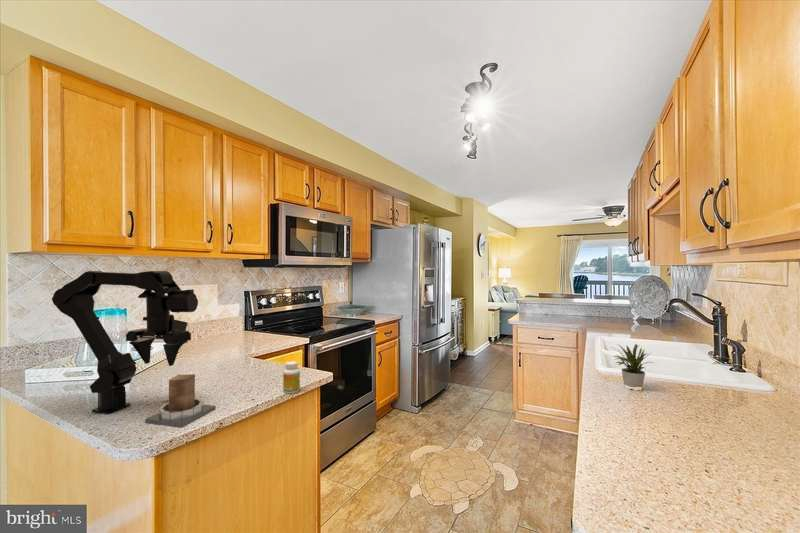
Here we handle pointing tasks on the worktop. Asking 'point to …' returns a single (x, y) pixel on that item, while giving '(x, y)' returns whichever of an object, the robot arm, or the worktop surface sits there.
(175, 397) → the upright wooden block
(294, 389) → the supplement bottle
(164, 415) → the duct collar
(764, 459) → the worktop surface
